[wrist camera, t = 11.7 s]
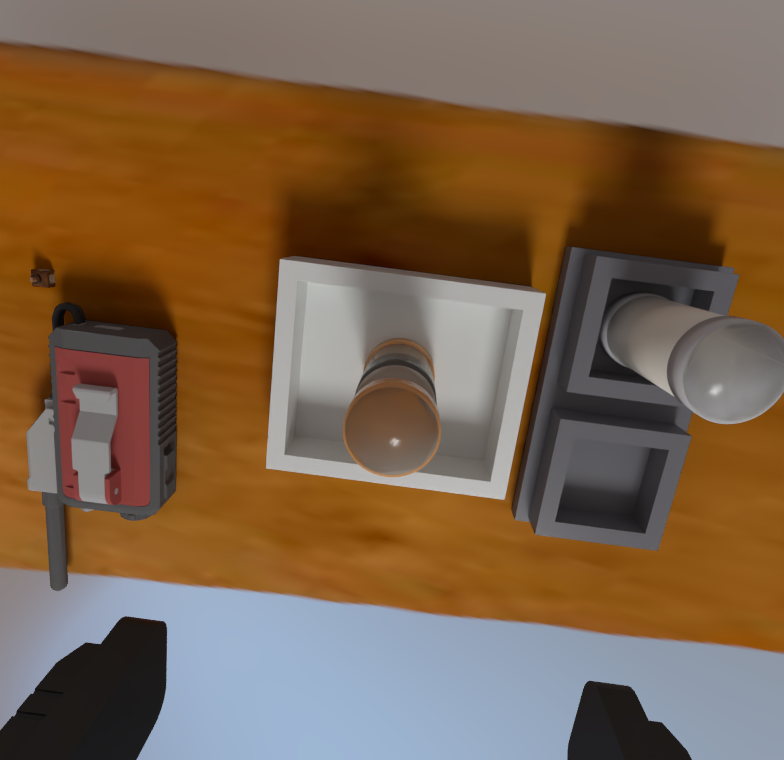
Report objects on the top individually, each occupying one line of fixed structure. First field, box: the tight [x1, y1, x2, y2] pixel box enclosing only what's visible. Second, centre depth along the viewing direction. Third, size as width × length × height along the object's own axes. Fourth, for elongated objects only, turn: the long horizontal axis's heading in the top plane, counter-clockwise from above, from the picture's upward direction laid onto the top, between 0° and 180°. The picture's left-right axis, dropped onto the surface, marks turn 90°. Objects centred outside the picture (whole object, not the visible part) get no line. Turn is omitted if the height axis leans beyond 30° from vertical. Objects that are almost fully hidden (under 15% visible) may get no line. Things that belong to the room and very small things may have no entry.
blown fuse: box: [343, 338, 441, 477], centre depth 28 cm, size 4×4×10 cm
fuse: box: [598, 292, 784, 424], centre depth 26 cm, size 4×4×10 cm
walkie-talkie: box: [26, 302, 177, 591], centre depth 34 cm, size 9×4×20 cm
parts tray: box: [266, 256, 546, 500], centre depth 32 cm, size 14×12×4 cm
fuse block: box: [512, 246, 739, 551], centre depth 32 cm, size 17×9×3 cm, turn 173°
